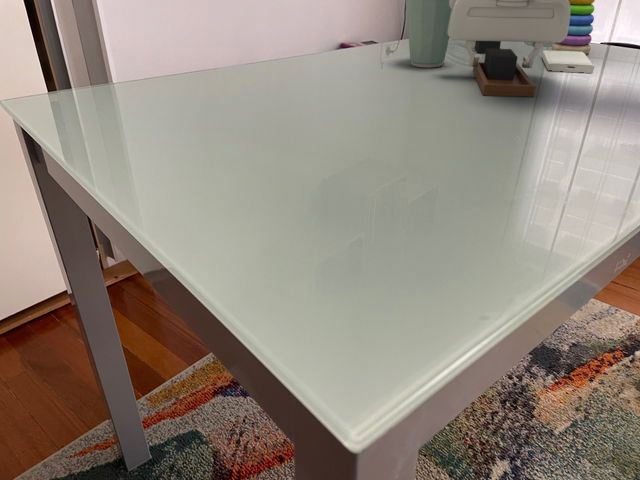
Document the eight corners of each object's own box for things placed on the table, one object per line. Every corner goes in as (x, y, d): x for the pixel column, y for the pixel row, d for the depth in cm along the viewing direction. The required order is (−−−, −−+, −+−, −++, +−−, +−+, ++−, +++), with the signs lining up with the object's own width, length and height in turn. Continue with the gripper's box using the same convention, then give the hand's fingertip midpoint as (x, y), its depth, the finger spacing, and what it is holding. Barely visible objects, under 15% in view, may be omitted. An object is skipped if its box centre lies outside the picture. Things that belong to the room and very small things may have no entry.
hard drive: (542, 49, 111) (549, 62, 101) (584, 51, 110) (595, 64, 99) (541, 58, 112) (547, 71, 102) (582, 59, 110) (592, 73, 100)
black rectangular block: (507, 71, 99) (511, 49, 97) (513, 80, 94) (517, 56, 91) (482, 70, 100) (486, 48, 98) (487, 79, 94) (491, 56, 92)
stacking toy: (594, 52, 117) (618, -44, 107) (581, 57, 112) (605, -42, 102) (559, 47, 121) (579, -45, 112) (544, 52, 116) (564, -43, 107)
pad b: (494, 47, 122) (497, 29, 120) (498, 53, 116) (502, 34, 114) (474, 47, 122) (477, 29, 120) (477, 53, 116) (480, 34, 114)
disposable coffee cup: (441, 73, 101) (450, -14, 93) (390, 66, 106) (395, -16, 98) (459, 62, 109) (469, -19, 101) (411, 56, 113) (417, -21, 106)
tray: (515, 72, 101) (517, 63, 100) (533, 97, 86) (535, 86, 85) (472, 71, 102) (474, 61, 101) (482, 95, 87) (484, 84, 86)
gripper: (452, -16, 88) (442, 69, 95) (581, -15, 85) (561, 72, 92) (450, -20, 93) (441, 61, 100) (571, -19, 90) (553, 64, 98)
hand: (499, 66), depth 96 cm, fingers open, 8 cm apart
